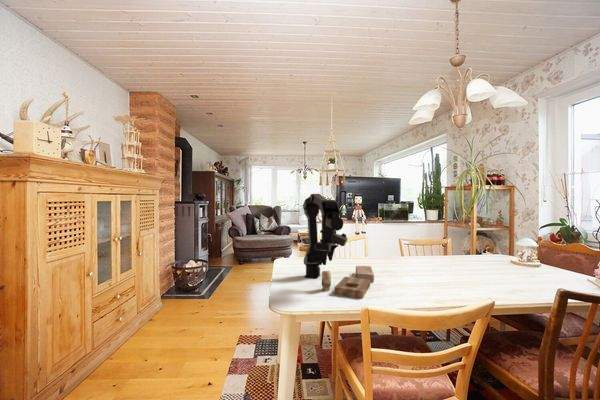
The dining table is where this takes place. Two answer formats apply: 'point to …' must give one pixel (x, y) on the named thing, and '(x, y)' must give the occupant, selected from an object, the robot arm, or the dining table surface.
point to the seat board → (352, 287)
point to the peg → (326, 280)
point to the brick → (365, 273)
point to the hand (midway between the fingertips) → (327, 262)
